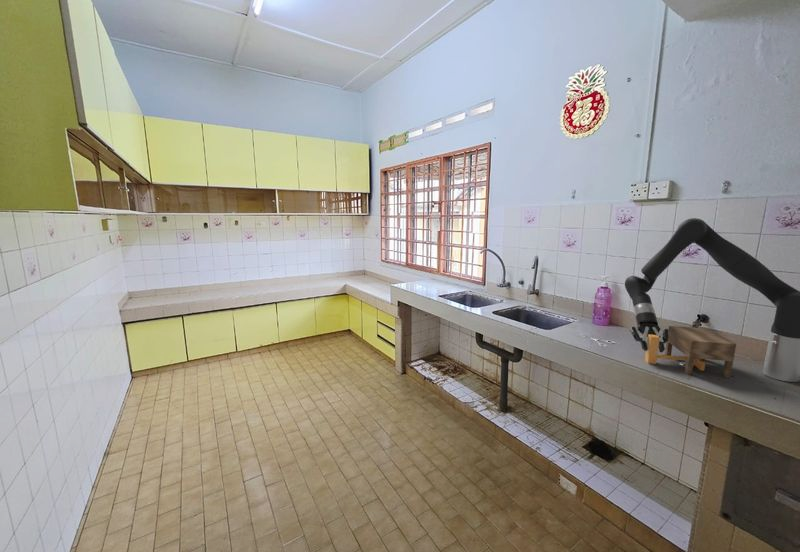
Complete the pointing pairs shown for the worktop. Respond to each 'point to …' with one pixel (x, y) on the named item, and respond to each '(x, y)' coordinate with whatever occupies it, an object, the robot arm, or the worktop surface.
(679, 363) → the steel token
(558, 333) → the worktop surface
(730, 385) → the worktop surface
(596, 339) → the scissors
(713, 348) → the wooden footstool
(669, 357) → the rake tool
